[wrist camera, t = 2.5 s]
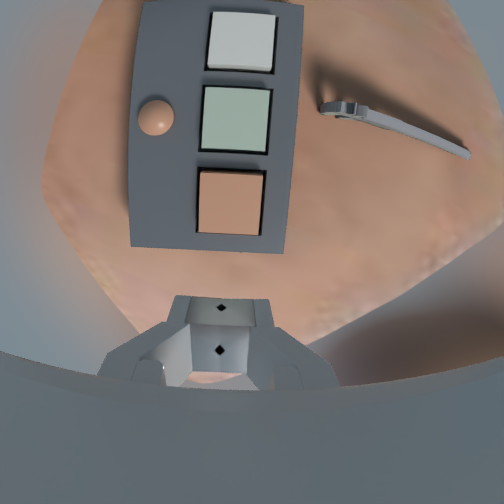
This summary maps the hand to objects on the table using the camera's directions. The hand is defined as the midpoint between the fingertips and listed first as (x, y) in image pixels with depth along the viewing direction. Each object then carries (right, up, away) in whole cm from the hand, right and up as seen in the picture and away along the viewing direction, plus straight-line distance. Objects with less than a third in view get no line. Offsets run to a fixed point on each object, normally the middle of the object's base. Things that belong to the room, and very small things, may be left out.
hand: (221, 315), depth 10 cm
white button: (0, +20, +12) cm, 24 cm away
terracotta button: (-1, +7, +17) cm, 19 cm away
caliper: (+18, +15, +18) cm, 29 cm away
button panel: (-3, +14, +17) cm, 22 cm away
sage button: (0, +14, +15) cm, 20 cm away
